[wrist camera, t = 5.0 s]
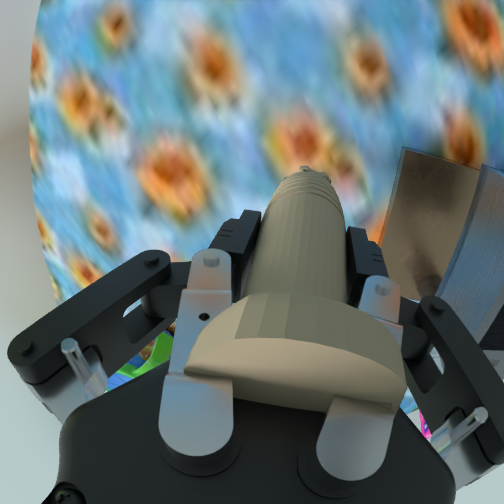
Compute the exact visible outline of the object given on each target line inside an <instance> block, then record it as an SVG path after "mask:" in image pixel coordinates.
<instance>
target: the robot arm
mask: <svg viewBox="0 0 504 504" xmlns="http://www.w3.org/2000/svg"><path fill="white" fill-rule="evenodd" d="M260 225H261V212H259V211H252V210H244V211H243V213H242V215H241V217H240V219H232V218H231V219H229V220H228V221H226V222H224V223H223V225H222V226H221V228H220V230H219V231H218V233H217V235H216V236H215V238H214V239H213V241H212V243H211V244H210V246H209V248H208V249H204V250H200V251H198V252H197V253H195V254H194V256H193V258H192V261H189V262H171V261H170V256H169V254H167V253H166V252H164V251H161V250H147V251H144V252H141V253H140V254H138V255H136V256H135V257H133V258H131V259H130V260H128V261H127V262H125V263H123V264H122V265H120V266H119V267H117V268H115V269H114V270H112V271H111V272H109V273H108V274H106V275H105V276H103V277H101V278H100V279H98V280H97V281H95V282H94V283H92V284H91V285H89V286H88V287H86V288H85V289H83V290H82V291H80V292H79V293H77V294H76V295H74V296H73V297H71V298H70V299H68V300H67V301H65V302H64V303H62V304H61V305H59V306H58V307H56V308H55V309H54V310H52V311H51V312H49V313H48V314H46V315H45V316H43V317H42V318H41V319H39V320H38V321H36V322H35V323H34V324H32V325H31V326H29V327H28V328H27V329H25V330H24V331H22V332H21V333H20V334H18V335H17V336H16V337H15V338H14V339H13V340H12V341H11V343H10V345H9V347H8V351H7V355H8V359H9V360H10V362H11V363H12V365H13V366H14V368H15V369H16V370H17V372H18V373H19V375H20V377H21V379H22V380H23V382H24V383H25V384H26V386H27V387H28V388H29V389H30V391H31V392H32V393H33V394H34V396H35V397H36V398H37V399H38V400H39V401H41V402H42V404H43V405H44V406H45V407H46V408H47V409H48V410H49V411H50V412H51V413H53V414H54V415H55V416H56V417H57V418H58V420H59V421H60V422H61V423H62V424H63V426H62V429H61V432H60V438H59V454H60V458H59V472H58V477H57V481H56V484H55V486H54V488H53V490H52V492H51V493H50V494H49V495H48V497H47V498H46V499H45V500H44V501H43V502H42V503H41V504H454V501H455V495H456V491H457V490H458V489H460V488H461V487H463V486H467V485H469V484H471V483H472V482H474V481H476V480H478V479H479V478H481V477H483V476H484V475H486V474H488V473H489V472H491V471H493V470H494V469H496V468H497V467H499V466H500V465H502V464H503V463H504V383H503V381H502V379H501V378H500V376H499V375H498V373H497V371H496V370H495V368H494V367H493V365H492V364H491V362H490V361H489V359H488V358H487V356H486V355H485V353H484V352H483V350H482V349H481V348H480V346H479V345H478V343H477V342H476V340H475V339H474V338H473V336H472V335H471V333H470V332H469V331H468V329H467V328H466V327H465V325H464V324H463V323H462V321H461V320H460V319H459V317H458V316H457V315H456V313H455V312H454V311H453V309H452V308H451V307H450V306H449V304H448V303H447V302H445V301H444V300H443V299H441V298H439V297H436V296H432V295H428V296H424V297H423V298H422V299H421V301H420V303H416V302H414V301H411V300H408V299H406V298H404V297H402V296H401V290H400V288H399V286H398V285H397V284H396V283H395V282H394V281H393V280H391V279H389V276H388V272H387V268H386V265H385V263H384V262H385V261H384V258H383V254H382V251H381V248H380V247H379V246H378V245H377V244H376V243H375V242H373V241H368V238H367V234H366V230H365V229H362V228H356V227H351V226H349V227H348V229H347V232H346V257H347V274H346V278H347V301H346V304H347V305H350V306H352V307H354V308H357V309H359V310H361V311H363V312H366V313H367V314H369V315H370V316H372V317H373V318H375V319H376V320H378V321H380V322H381V323H382V324H383V325H384V326H385V327H386V328H387V329H388V330H389V332H390V333H391V334H392V336H393V337H394V339H395V341H396V342H397V344H398V346H399V348H400V351H401V355H402V361H403V366H404V372H405V379H406V383H407V385H408V387H409V389H410V391H411V393H412V395H413V397H414V399H415V401H416V403H417V405H418V407H419V410H420V412H421V414H422V416H423V418H424V420H425V422H426V424H427V426H428V428H429V431H430V433H431V435H432V437H431V441H430V443H429V441H428V440H427V439H426V438H425V437H424V435H423V434H422V433H421V432H420V431H419V429H418V428H417V427H416V426H415V425H414V423H413V422H412V421H411V420H410V419H409V418H408V416H407V415H406V414H405V413H404V411H403V410H402V409H401V408H400V407H399V409H398V411H397V413H396V415H395V417H394V412H393V409H392V403H389V402H377V401H368V400H361V399H356V398H351V397H346V396H342V395H338V394H334V396H333V398H332V400H331V401H330V403H329V405H328V407H327V409H326V410H325V412H319V411H311V410H303V409H296V408H289V407H283V406H277V405H271V404H265V403H259V402H254V401H248V400H243V399H238V398H234V397H233V388H232V377H225V376H216V375H207V374H201V373H195V372H190V371H186V370H183V369H184V367H185V364H186V362H187V360H188V357H189V354H190V352H191V349H192V347H193V345H194V343H195V341H196V339H197V337H198V335H199V333H200V332H201V330H202V329H203V328H204V327H205V326H206V325H207V324H208V323H209V322H210V321H212V320H213V319H214V318H215V317H216V316H218V315H219V314H220V313H222V312H223V311H224V310H226V309H227V308H229V307H230V306H232V303H236V302H238V301H240V300H241V299H242V295H243V291H244V287H245V284H246V280H247V276H248V272H249V269H250V265H251V261H252V257H253V253H254V249H255V244H256V240H257V236H258V232H259V229H260ZM140 298H141V303H142V304H140V305H139V306H138V307H136V308H135V309H134V310H132V311H131V312H130V313H128V314H127V315H126V316H125V317H123V315H124V312H125V310H126V309H127V308H128V307H129V306H130V305H132V304H133V303H134V302H136V301H137V300H138V299H140ZM176 318H177V322H176V328H175V334H174V340H173V346H172V352H171V359H170V360H168V361H166V362H164V363H162V364H160V365H158V366H156V367H155V368H153V369H151V370H149V371H147V372H145V373H143V374H141V375H139V376H138V377H136V378H134V379H132V380H130V381H128V382H126V383H124V384H122V385H120V386H118V387H116V388H114V389H112V390H110V391H108V392H106V393H104V392H105V391H106V389H107V387H108V379H109V378H110V377H111V376H112V375H113V374H114V373H116V372H117V371H118V370H119V369H120V368H121V367H123V366H124V365H125V364H126V363H127V362H128V361H129V360H131V359H132V358H133V357H134V356H135V355H136V354H138V353H139V352H140V351H141V350H142V349H143V348H144V347H146V346H147V345H148V344H149V343H150V342H151V341H153V340H154V339H155V338H156V337H157V336H158V335H159V334H161V333H162V332H163V331H164V330H165V329H166V328H168V327H169V326H170V325H171V324H172V323H173V322H174V321H175V320H176ZM434 347H435V349H436V350H437V352H438V353H439V355H440V356H441V358H442V360H443V362H444V372H443V374H442V373H441V371H440V370H439V368H438V366H437V365H436V363H435V361H434V360H433V358H432V356H431V355H430V352H431V351H432V349H433V348H434Z"/></svg>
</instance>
